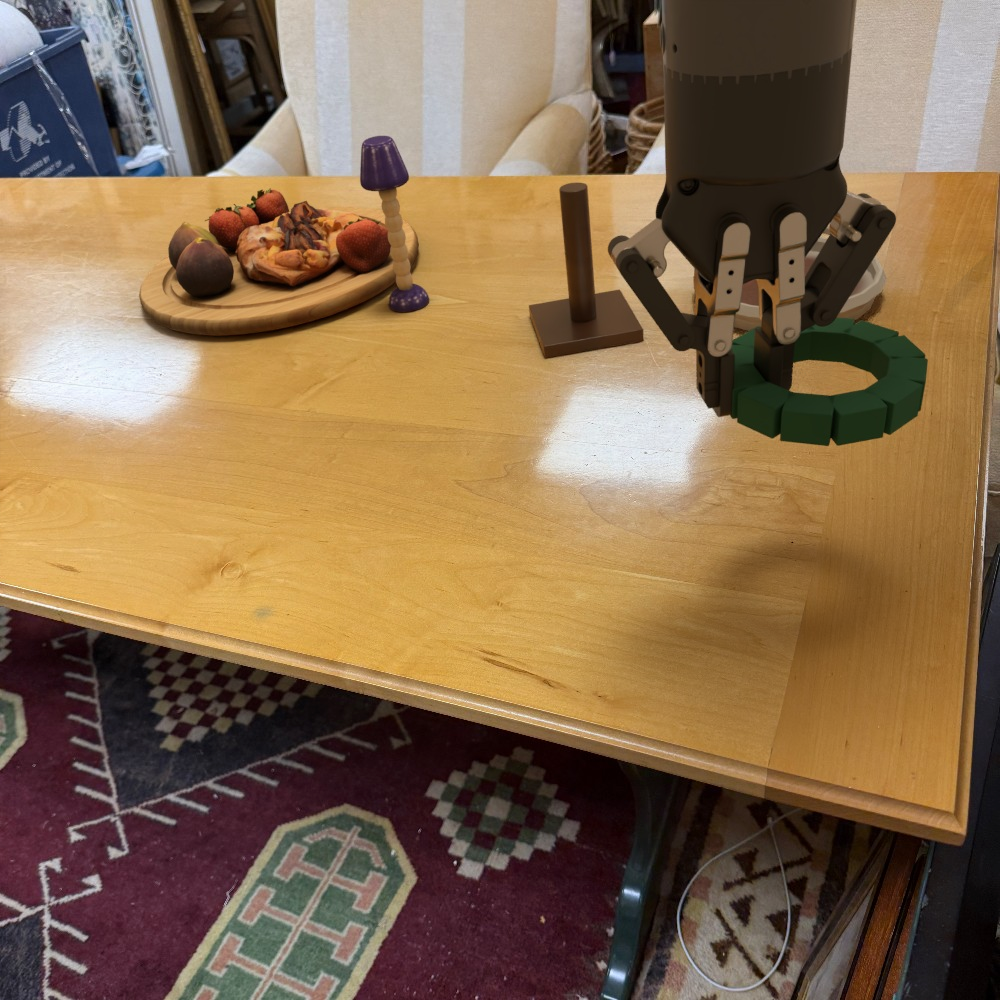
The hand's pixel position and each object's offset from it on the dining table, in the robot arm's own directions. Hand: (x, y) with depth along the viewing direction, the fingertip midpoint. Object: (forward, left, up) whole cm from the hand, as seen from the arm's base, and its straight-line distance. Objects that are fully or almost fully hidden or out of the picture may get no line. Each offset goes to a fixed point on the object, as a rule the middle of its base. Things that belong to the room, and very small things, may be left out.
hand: (743, 403), depth 48 cm
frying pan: (-19, -41, -13) cm, 47 cm away
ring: (-4, 0, 0) cm, 4 cm away
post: (+2, -37, -13) cm, 39 cm away
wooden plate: (+32, -63, -13) cm, 72 cm away
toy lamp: (+18, -49, -13) cm, 54 cm away
